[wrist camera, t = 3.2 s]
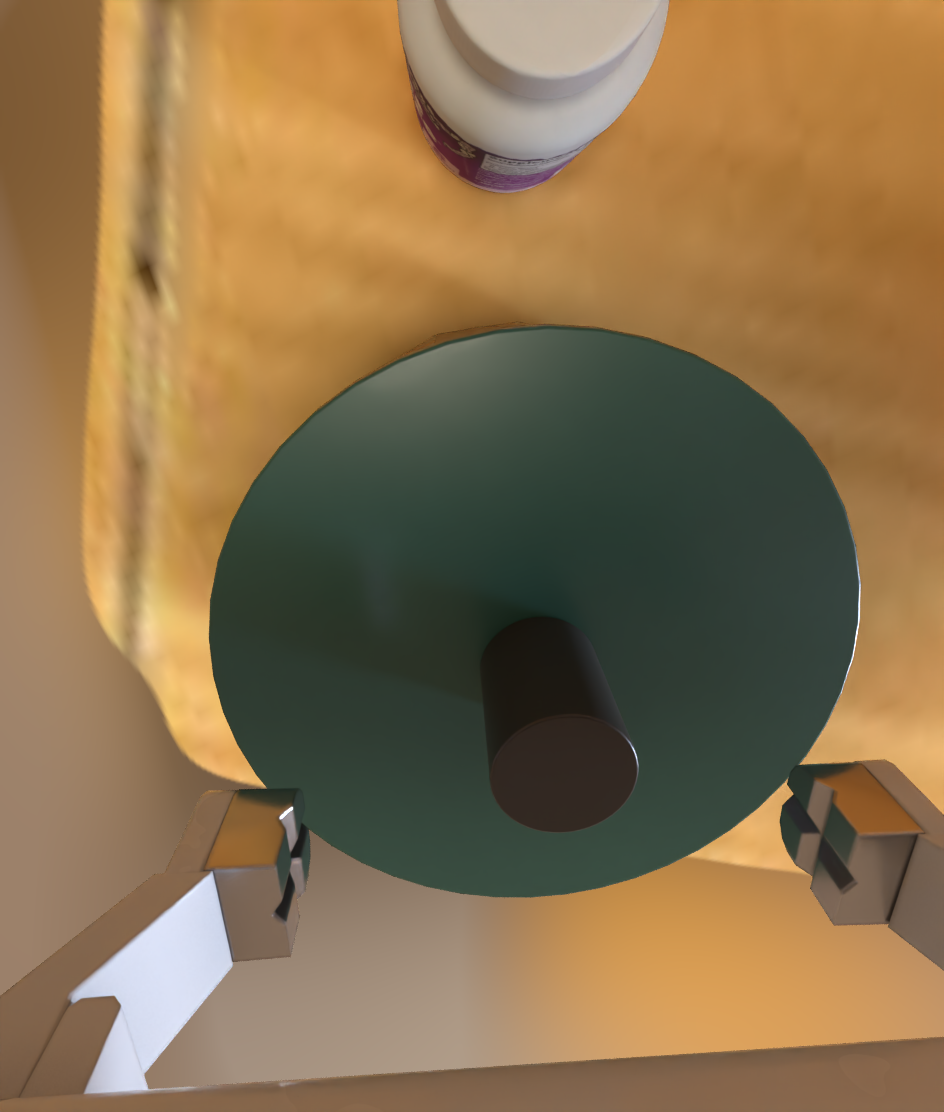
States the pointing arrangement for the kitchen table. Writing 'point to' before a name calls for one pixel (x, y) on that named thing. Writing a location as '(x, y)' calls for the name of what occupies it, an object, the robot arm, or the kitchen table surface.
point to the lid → (535, 610)
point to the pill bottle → (523, 79)
